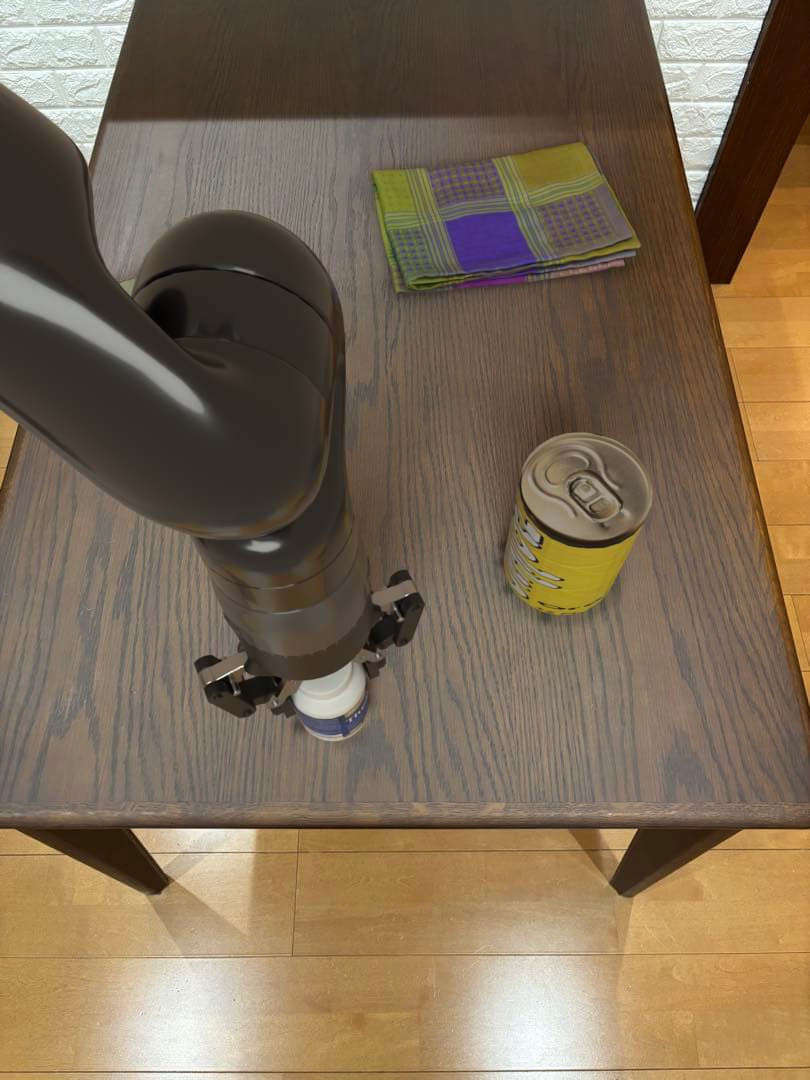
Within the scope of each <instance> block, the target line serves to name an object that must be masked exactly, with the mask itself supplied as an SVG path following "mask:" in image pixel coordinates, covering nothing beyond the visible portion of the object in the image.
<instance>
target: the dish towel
mask: <svg viewBox="0 0 810 1080" xmlns="http://www.w3.org/2000/svg"><path fill="white" fill-rule="evenodd" d="M370 179H371V188H372V190H373V195H374V202H375V203H374V204H375V209H376V213H377V214H376V215H377V219H378V223H379V229H380V235H381V239H382V242H383V243H382V244H383V247H384V252H385V255H386V260H387V263H388V267H389V272H390V276H391V281H392V286H393V290H394V294H395V295H396V296H399V295H409V294H417V293H425V292H426V293H427V292H442V291H450V290H451V291H452V290H460V289H469V288H480V287H494V286H503V285H512V284H521V283H530V282H539V281H544V280H551V279H558V278H563V277H564V278H565V277H570V276H578V275H585V274H590V273H597V272H600V271H606V270H608V269H611V268H621V267H625V260H624V259H625V258H631V257H633V258H634V257H636V256H637V252H636V250H635V249H640V248H642V243H641V242H640V240H639V238H638V236H637V233H636V231H635V230H634V228H633V226H632V225H631V223H630V221H629V220H628V217H627V216H626V214H625V212H624V210H623V207H622V206H621V204H620V203H619V200H618V197H617V195H616V194H615V192H614V190H613V189H612V186H611V185H610V184H609V183H608V180H607V178H606V176H605V175H604V172H603V170H602V168H601V164H600V163H599V160H598V159H597V157H596V154H595V153H594V151H593V149H592V148H591V146H590V145H589V144H584V142H583V143H582V142H581V141H577V142H573V143H566V144H561V145H557V146H552V147H547V148H542V149H538V150H533V151H529V152H524V153H521V154H520V153H519V154H510V155H504V156H501V157H494V158H487V159H483V160H480V161H479V160H478V161H477V160H476V161H469V162H468V161H466V162H459V163H458V162H457V163H448V164H443V165H442V164H440V165H436V166H429V167H428V166H427V167H426V166H425V167H412V168H404V169H402V168H401V169H398V168H397V169H389V168H388V169H373V170H371V173H370Z"/></svg>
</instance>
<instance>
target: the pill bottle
mask: <svg viewBox="0 0 810 1080" xmlns="http://www.w3.org/2000/svg"><path fill="white" fill-rule="evenodd" d="M366 674H367V673H366V670H365V668H364V666H363V663H362V664H359V663H356V662H353V661H351V662H350V663H349V664H347V665H346V666H345V667H343V668H342V669H340V670H339V671H337V672H335V673H333V674H331V675H328V676H326V677H322V678H319V679H314V680H306V681H303V682H302V684H301V686H300V688H299V690H298V691H297V693H296V694H292V695H289V698H290V700H291V702H292V705H293V707H294V709H295V712H296V715H297V717H298V719H299V721H300V723H301V725H302V726H303V728H305V730H306V731H307V732H308V733H309V734H310V735H312V736H313V737H315V738H317V739H320V740H322V741H326V742H338V741H344V740H346V739H349V738H351V737H352V736H354V735H355V734H357V733H358V732H359V731H360V730H361V729H362V727H363V726H364V725H365V723H366V722H367V719H368V716H369V713H370V706H371V705H370V702H371V701H370V694H369V688H368V680H367V675H366Z"/></svg>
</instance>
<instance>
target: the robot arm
mask: <svg viewBox="0 0 810 1080" xmlns="http://www.w3.org/2000/svg"><path fill="white" fill-rule="evenodd" d="M93 188H94V187H93V179H92V174H91V170H90V167H89V165H88V162H87V160H86V158H85V156H84V153H83V152H82V151H81V149H80V148H79V146H78V145H77V143H76V142H75V141H74V140H73V139H72V138H71V137H70V136H69V135H68V134H67V133H66V132H65V131H64V130H63V129H62V128H61V127H59V125H57V124H56V123H55V122H53V121H52V120H51V119H50V118H49V117H48V116H47V115H45V114H44V113H43V112H42V111H40V109H38V108H36V107H35V106H33V104H31V103H30V102H28V101H27V100H26V99H24V98H23V97H22V96H20V95H18V94H17V93H16V92H14V91H13V90H11V88H9V87H7V86H6V85H4V84H3V83H2V82H0V411H1V412H3V413H4V414H5V415H6V416H8V417H9V418H10V419H12V420H13V421H14V422H16V423H17V424H18V425H19V426H21V427H22V428H23V429H25V430H26V431H27V432H29V433H30V434H31V435H32V436H33V437H35V438H36V439H37V440H39V441H40V442H41V443H43V444H44V445H45V446H47V447H48V448H49V449H50V450H51V451H52V452H54V453H55V454H56V455H58V456H59V457H60V458H61V459H62V460H64V461H65V463H67V464H68V465H69V466H71V467H72V468H73V469H75V471H77V472H78V473H80V474H81V475H82V476H83V477H85V478H86V479H87V480H88V481H90V482H91V483H92V484H93V485H95V486H96V487H97V488H99V489H100V490H101V491H102V492H103V493H105V494H107V495H108V496H110V497H111V499H113V500H115V501H117V502H118V503H120V504H121V505H122V506H124V507H125V508H127V509H129V510H131V511H132V512H134V513H136V514H137V515H139V516H141V517H143V518H145V519H147V520H149V521H151V522H152V523H154V524H156V525H159V526H162V527H165V528H168V529H171V530H173V531H176V532H179V533H182V534H186V535H188V536H190V538H191V541H192V543H193V545H194V548H195V549H196V551H197V553H198V555H199V556H200V558H201V560H202V562H203V564H204V566H205V568H206V570H207V571H208V573H209V577H210V581H211V587H212V590H213V592H214V594H215V597H216V600H217V602H218V604H219V606H220V608H221V610H222V614H223V615H222V617H223V618H224V620H225V621H226V623H227V624H228V626H229V628H230V629H232V631H233V632H234V633H235V635H236V637H237V640H238V641H239V642H238V643H237V647H236V651H237V652H236V653H234V654H232V655H230V656H224V655H223V656H221V657H220V658H219V657H216V656H215V655H213V654H207V655H202V656H200V657H198V658H197V659H196V660H195V661H194V662H193V666H194V669H195V671H196V674H197V677H198V680H199V682H200V685H201V688H202V690H203V692H204V695H205V698H206V700H207V702H208V703H209V704H211V705H213V706H215V707H216V708H219V709H221V710H223V711H225V712H227V713H229V714H231V715H232V716H233V717H237V718H238V719H244V718H245V719H246V718H249V717H251V716H252V715H254V714H255V713H256V712H257V711H258V708H257V706H260V705H265V706H266V708H267V709H268V710H270V711H271V713H272V715H273V716H280V715H282V714H284V716H285V718H286V719H289V718H291V717H293V716H296V715H297V712H296V710H295V708H294V706H293V704H292V702H291V700H290V698H289V695H292V694H296V693H297V691H298V690H299V688H300V686H301V684H302V682H303V681H306V680H314V679H319V678H322V677H326V676H328V675H331V674H333V673H335V672H337V671H339V670H340V669H342V668H343V667H345V666H346V665H347V664H349V663H350V662H351V661H353V662H356V663H359V664H362V663H363V666H364V669H365V673H366V674H367V675H366V676H368V678H369V680H370V681H371V680H373V679H375V678H378V677H380V675H381V674H380V669H382V668H384V667H385V665H386V664H387V658H386V657H387V656H388V654H389V653H388V651H387V649H389V647H390V646H391V645H395V647H396V648H400V647H405V646H407V645H409V643H411V642H412V640H413V639H414V636H415V634H416V631H417V628H418V627H419V626H418V625H419V623H420V620H421V618H422V615H423V612H424V610H425V606H426V603H425V601H424V598H423V597H422V595H421V594H420V592H419V589H418V588H417V586H416V584H415V582H414V580H413V578H412V576H411V574H410V572H409V570H408V569H405V568H404V569H400V570H397V571H396V572H394V573H393V574H392V575H391V576H390V577H389V580H388V583H387V584H386V585H383V586H382V587H381V589H380V590H378V591H375V592H374V591H373V590H372V589H371V580H370V579H371V578H370V577H371V572H372V569H371V563H370V558H369V556H368V554H367V551H366V548H365V543H364V539H363V537H362V535H361V531H360V530H359V528H358V522H357V514H356V507H355V501H354V495H353V490H352V486H351V483H350V480H349V474H348V466H347V456H346V455H347V454H346V422H347V421H346V419H347V418H346V417H347V415H346V414H347V411H346V410H347V357H346V354H347V351H346V350H347V349H346V331H345V319H344V313H343V308H342V302H341V299H340V297H339V293H338V290H337V288H336V286H335V283H334V281H333V279H332V277H331V275H330V273H329V271H328V270H327V268H326V267H325V265H324V263H323V262H322V260H321V259H320V258H319V257H318V256H317V255H318V254H316V253H315V252H314V251H313V249H312V248H311V247H310V246H309V245H308V244H307V243H306V241H305V242H304V241H303V239H302V238H301V237H299V236H298V235H296V234H295V233H294V232H293V231H292V230H291V229H288V228H287V227H286V226H284V225H282V224H281V223H279V222H277V221H275V220H273V219H271V218H268V217H266V216H264V215H261V214H258V213H255V212H251V211H247V210H240V209H215V210H208V211H203V212H200V213H195V214H193V215H190V216H188V217H186V218H185V217H184V218H183V219H182V220H179V221H178V222H176V223H175V224H174V225H172V226H171V227H170V228H169V229H167V230H165V232H164V233H163V234H162V235H161V236H160V237H159V238H157V240H156V241H155V242H154V243H153V244H152V246H151V247H150V248H149V250H148V252H147V253H146V255H145V257H144V258H143V261H142V263H141V264H140V266H139V268H138V270H137V273H136V276H135V278H136V279H135V283H134V286H133V290H132V293H131V296H130V295H129V294H128V293H127V292H126V291H125V290H124V289H123V287H122V286H121V285H120V284H119V283H120V282H118V280H116V278H115V277H114V276H113V274H112V273H111V272H110V270H109V269H108V267H107V266H106V262H105V261H104V258H103V255H102V253H101V251H100V248H99V242H98V237H97V230H96V217H95V206H94V190H93ZM245 673H246V674H248V675H249V676H250V675H251V676H253V677H251V678H247V679H245V676H244V674H245Z"/></svg>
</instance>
